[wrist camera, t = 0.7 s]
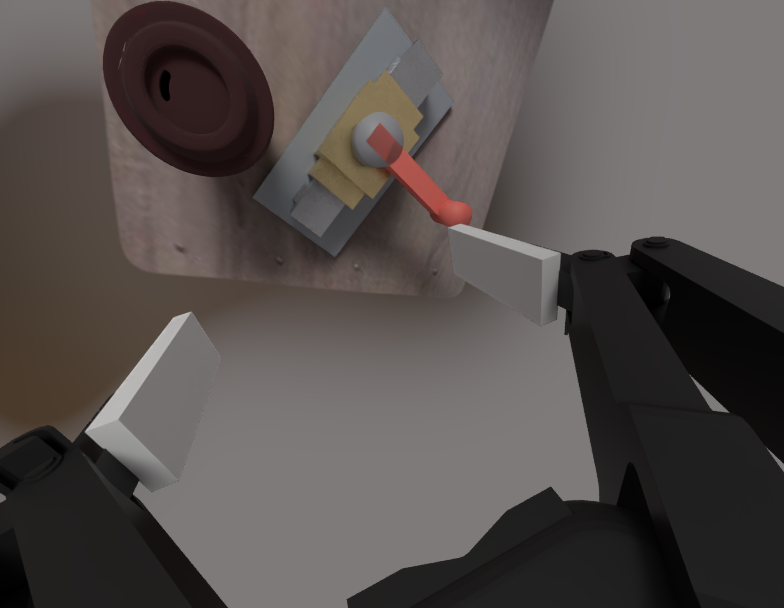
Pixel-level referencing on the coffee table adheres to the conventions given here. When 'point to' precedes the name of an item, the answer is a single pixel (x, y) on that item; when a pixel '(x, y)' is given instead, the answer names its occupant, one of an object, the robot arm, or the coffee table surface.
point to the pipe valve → (335, 157)
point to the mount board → (299, 158)
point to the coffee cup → (188, 89)
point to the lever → (403, 167)
